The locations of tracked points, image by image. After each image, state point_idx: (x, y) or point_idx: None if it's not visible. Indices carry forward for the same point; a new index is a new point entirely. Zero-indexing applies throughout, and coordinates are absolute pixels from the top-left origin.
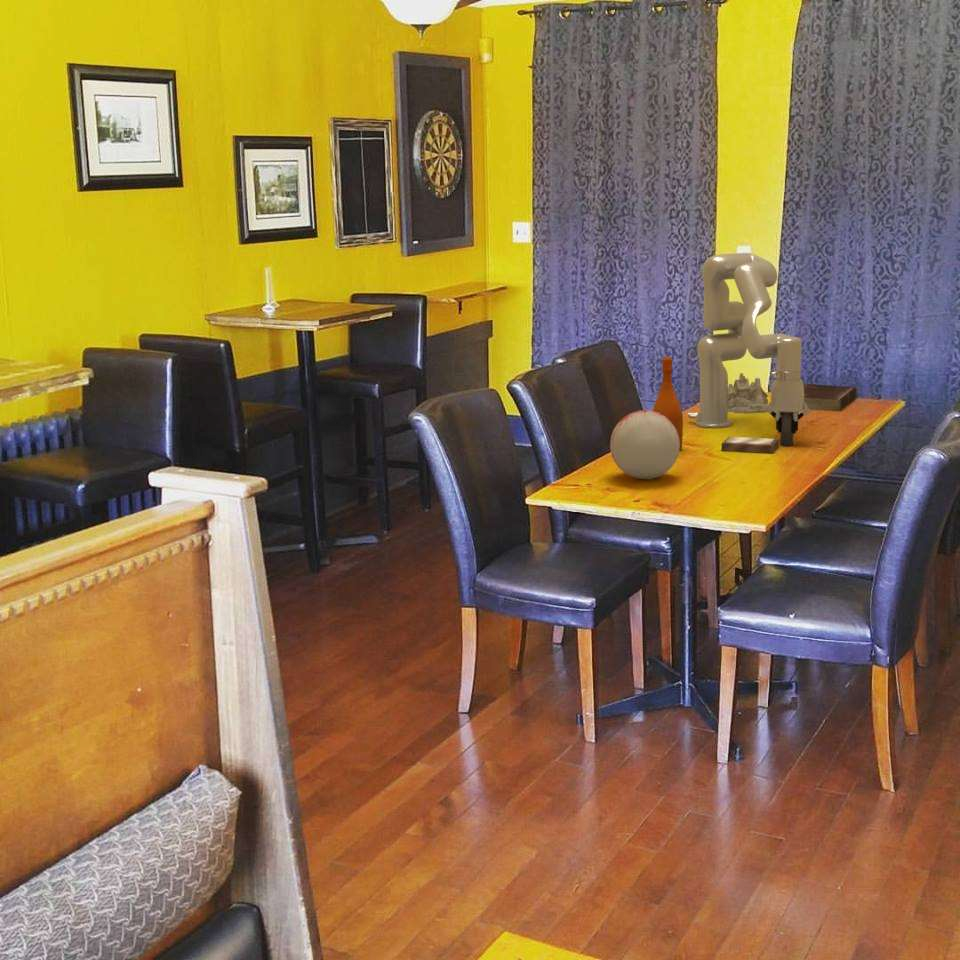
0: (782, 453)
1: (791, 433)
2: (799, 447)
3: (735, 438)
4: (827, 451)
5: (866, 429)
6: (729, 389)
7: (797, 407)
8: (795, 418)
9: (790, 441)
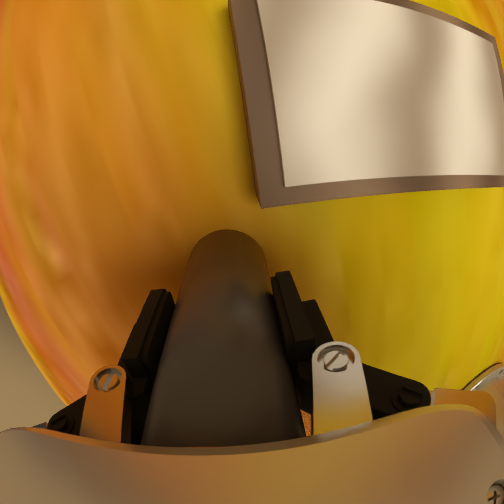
0: (172, 39)
1: (179, 293)
2: (139, 240)
3: (490, 132)
4: (10, 212)
5: None
6: None
7: (2, 477)
8: (110, 391)
9: (191, 259)
